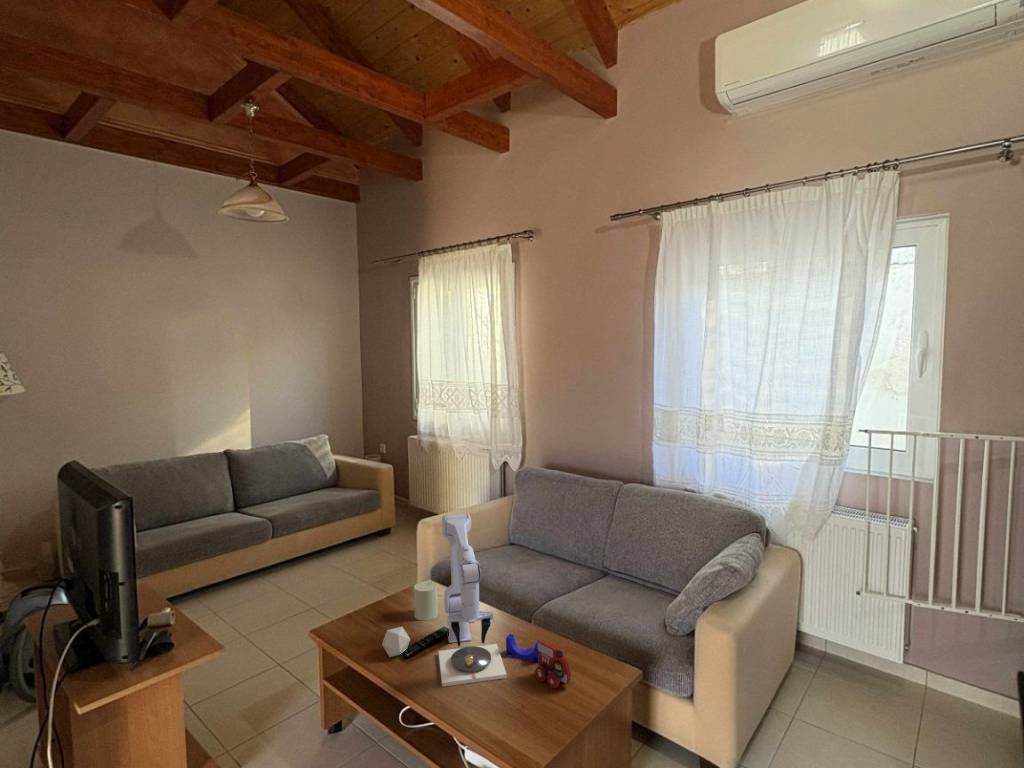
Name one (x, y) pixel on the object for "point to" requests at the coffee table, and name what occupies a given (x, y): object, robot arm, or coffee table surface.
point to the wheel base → (462, 677)
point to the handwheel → (471, 659)
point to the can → (426, 600)
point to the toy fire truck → (552, 665)
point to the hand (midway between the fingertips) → (470, 643)
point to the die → (395, 641)
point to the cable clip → (521, 650)
